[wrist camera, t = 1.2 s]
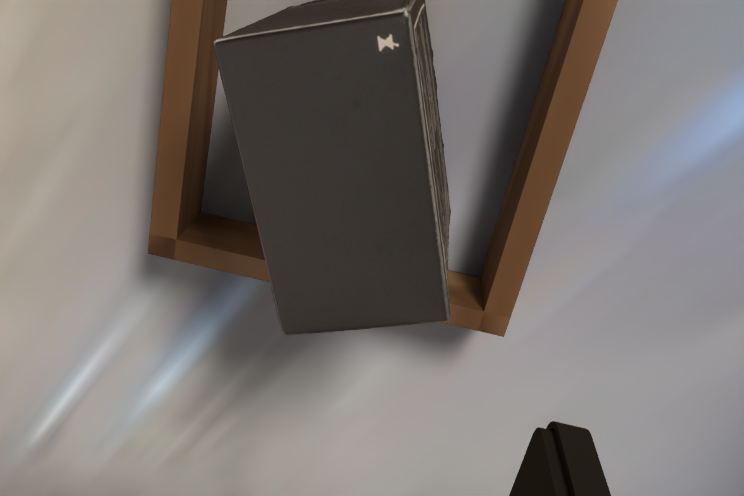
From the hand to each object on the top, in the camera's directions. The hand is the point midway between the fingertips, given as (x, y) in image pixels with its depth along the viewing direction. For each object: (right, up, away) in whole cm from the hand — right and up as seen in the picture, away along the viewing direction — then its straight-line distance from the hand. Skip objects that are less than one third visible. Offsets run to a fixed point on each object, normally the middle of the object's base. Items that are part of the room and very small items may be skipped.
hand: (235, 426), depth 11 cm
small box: (+2, +9, +21) cm, 23 cm away
